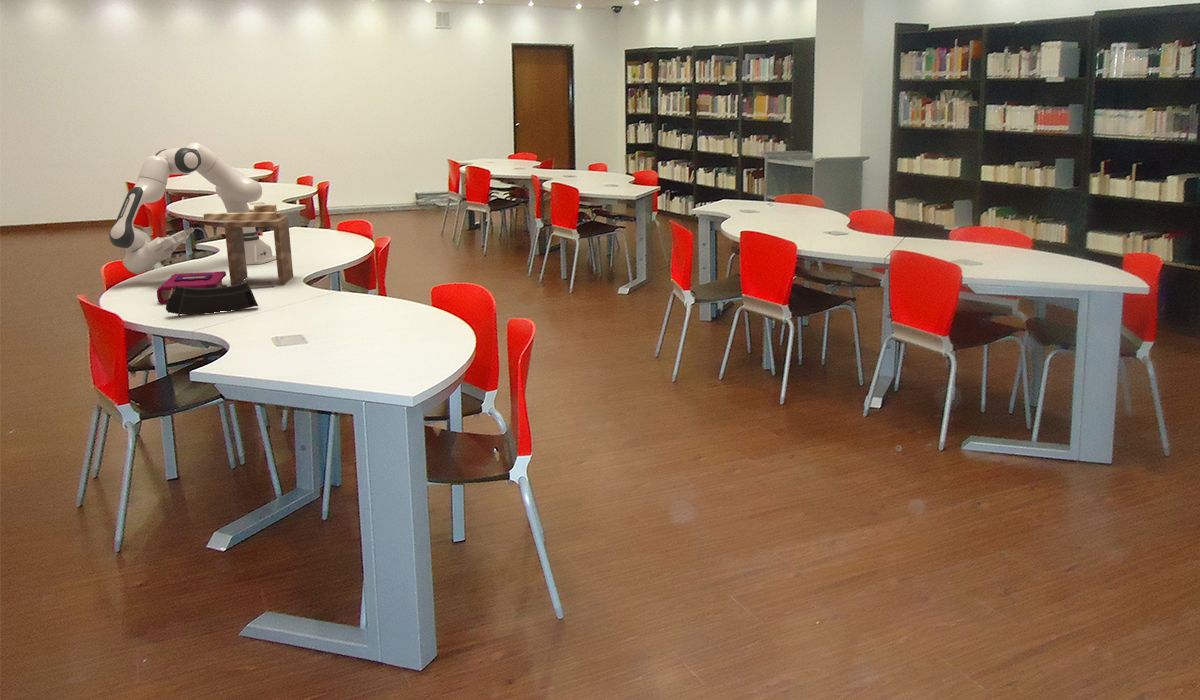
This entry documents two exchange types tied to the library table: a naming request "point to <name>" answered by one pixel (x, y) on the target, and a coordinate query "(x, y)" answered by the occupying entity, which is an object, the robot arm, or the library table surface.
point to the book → (190, 283)
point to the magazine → (210, 299)
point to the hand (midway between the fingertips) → (189, 230)
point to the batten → (239, 216)
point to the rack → (238, 250)
